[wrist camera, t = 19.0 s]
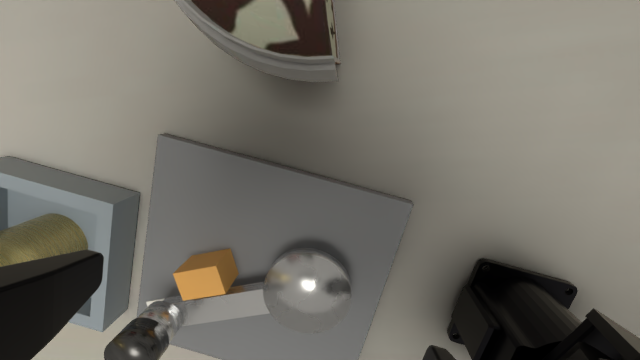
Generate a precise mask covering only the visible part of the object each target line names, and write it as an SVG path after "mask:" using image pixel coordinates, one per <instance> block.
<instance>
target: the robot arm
mask: <svg viewBox="0 0 640 360" xmlns="http://www.w3.org/2000/svg"><path fill="white" fill-rule="evenodd" d="M103 264H104V257H103V255H102V254H101V253H99V252H95V251H92V250H81V251H76V252H71V253H66V254H61V255H56V256H51V257H46V258H41V259H36V260H31V261H26V262H22V263H17V264H12V265H7V266H2V267H0V360H31V359H32V358H33V357H34V356H35V355H36V354H37V353H38V352H39V351H41V350H42V349H43V348H44V347H45V346H46V345H47V344H48V343H49V342H50V341H51V340H52V339H53V338H54V337H55V336H56V335H57V334H58V333H59V332H60V330H61V329H62V328H63V327H64V326H65V325H66V324H67V323H68V322H69V321H70V319H71V318H72V317H73V316H74V315H75V314H76V313H77V312H78V311H79V309H80V308H81V307H82V306H83V305H84V304H85V303H86V302H87V301H88V299H89V298H90V297H91V296H92V295H93V294H94V293H95V292H96V291H97V289H98V288H99V286H100V285H101V282H102V278H103ZM485 265H488V267H487V268H486V269H482V268H483V266H485ZM568 288H569V290H568V291H566V292H565V290H566V289H568ZM576 294H577V288H576V287H575V286H574V285H573V284H572V283H570V282H567V281H564V280H560V279H557V278H553V277H549V276H546V275H542V274H539V273H535V272H531V271H528V270H524V269H520V268H517V267H513V266H510V265H506V264H502V263H499V262H495V261H492V260H488V259H481V260H479V261H478V262H477V264H476V266H475V268H474V271H473V273H472V275H471V277H470V280H469V282H468V284H467V285H466V286H465V287H464V288H463V290H462V293H461V295H460V297H459V300H458V302H457V304H456V307H455V309H454V311H453V314H452V318H453V319H452V321H451V323H450V326H449V328H448V330H447V334H448V336H449V339H450V340H451V341H453V342H456V343H460V344H463V345H465V346H466V348H467V350H468V352H469V355H470V357H471V359H472V360H640V338H638V337H637V336H635V335H634V334H632V333H631V332H629V331H628V330H626V329H625V328H623V327H622V326H620V325H618V324H617V323H615V322H614V321H612V320H611V319H609V318H608V317H606V316H605V315H603V314H602V313H600V312H599V311H597V310H596V309H594V308H593V309H592V310H591V311H590V312H589V313H588V314H587V315H586V317H587V319H585V320H584V321H583V322H581V321H579V320H578V319H577V318H576V317H575V316H574V315H573V314H572V313H571V312H570V311H569V310H568V309H569V307H570V305H571V303H572V301H573V299H574V298H575V296H576ZM454 333H458V334H457V335H453V334H454ZM423 360H456V359H455V358H454V357H453V356H452V355H451V354H450V353H449V352H448V351H447V350H446V349H444V348H441V347H437V346H434V345H431V346H429V347H428V348H427V350H426V353H425V355H424V358H423Z"/></svg>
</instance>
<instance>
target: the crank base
mask: <svg viewBox="0 0 640 360" xmlns="http://www.w3.org/2000/svg"><path fill="white" fill-rule="evenodd" d="M412 207H413V203H412V201H410V200H407V199H403V198H399V197H396V196H392V195H388V194H385V193H381V192H377V191H374V190H370V189H366V188H363V187H359V186H356V185H352V184H348V183H345V182H341V181H337V180H334V179H330V178H326V177H323V176H319V175H315V174H312V173H308V172H304V171H301V170H297V169H293V168H290V167H286V166H282V165H279V164H275V163H271V162H268V161H264V160H260V159H257V158H253V157H249V156H246V155H242V154H238V153H235V152H231V151H227V150H224V149H220V148H216V147H213V146H209V145H206V144H202V143H198V142H195V141H191V140H187V139H184V138H180V137H176V136H173V135H169V134H159V135H158V140H157V149H156V157H155V166H154V174H153V183H152V191H151V200H150V208H149V217H148V226H147V234H146V243H145V251H144V260H143V268H142V277H141V285H140V294H139V302H138V311H137V317H138V316H139V315H140V314H141V313H142V312H143V311H144V310H145V309H146V308H147V307H148V306H149V305H150V304H151V303H153V302H155V301H163V300H164V299H165V298H168V297H174V296H180V295H181V297H182V300H183V301H185V300H191V299H197V298H204V297H210V296H216V295H222V294H226V293H227V291H228V289H229V288H230V287H234V286H241V285H247V284H253V283H259V282H264V281H265V278H266V276H267V274H268V272H269V270H270V268H271V266H272V264H273V263H274V262H275V260H276V259H278V258H279V257H280V256H281V255H282V254H284V253H286V252H288V251H290V250H293V249H297V248H315V249H319V250H322V251H325V252H327V253H329V254H331V255H332V256H334V257H335V258H336V259H338V260H339V261H340V262H341V263H342V265H343V266H344V267H345V269H346V271H347V273H348V275H349V278H350V282H351V304H350V307H349V310H348V312H347V314H346V316H345V317H344V319H343V320H342V321H341V322H340V323H339V324H338V325H336V326H335V327H333V328H331V329H329V330H327V331H324V332H320V333H312V334H311V333H300V332H296V331H293V330H291V329H288V328H287V327H285V326H283V325H282V324H280V323H279V322H278V321H277V320H275V318H274V317H273V316H272V315H271V314H270V313H269V314H262V315H255V316H248V317H242V318H235V319H228V320H222V321H215V322H208V323H201V324H195V325H188V326H181V328H180V329H179V331H178V332H177V333H176V335H175V336H174V337H173V339H172V340H171V341H170V343H169V344H171V345H174V346H178V347H181V348H184V349H188V350H191V351H195V352H198V353H201V354H205V355H208V356H212V357H215V358H218V359H222V360H358V359H359V356H360V353H361V350H362V348H363V345H364V342H365V339H366V336H367V334H368V331H369V328H370V325H371V322H372V320H373V317H374V314H375V311H376V308H377V305H378V303H379V300H380V297H381V294H382V291H383V289H384V286H385V283H386V280H387V277H388V275H389V272H390V269H391V266H392V263H393V260H394V258H395V255H396V252H397V249H398V246H399V244H400V241H401V238H402V235H403V232H404V230H405V227H406V224H407V221H408V218H409V216H410V213H411V210H412Z"/></svg>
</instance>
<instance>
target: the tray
mask: <svg viewBox="0 0 640 360" xmlns="http://www.w3.org/2000/svg"><path fill="white" fill-rule="evenodd" d="M139 198H140V193H139V192H135V191H132V190H128V189H124V188H121V187H117V186H114V185H110V184H107V183H103V182H99V181H96V180H92V179H89V178H85V177H82V176H78V175H74V174H71V173H67V172H64V171H60V170H57V169H53V168H49V167H46V166H42V165H39V164H35V163H32V162H28V161H24V160H21V159H17V158H14V157H10V156H7V157H0V231H1V230H4V229H7V228H9V227H12V226H15V225H18V224H20V223H23V222H26V221H28V220H31V219H34V218H36V217H39V216H42V215H45V214H49V213H55V214H61V215H64V216H66V217H68V218H70V219H71V220H73V221H74V222H75V223H76V224H77V225H78V226H79V227H80V228H81V229H82V231H83V232H84V234H85V236H86V239H87V242H88V250H92V251H95V252H99V253H101V254H102V255H103V257H104V264H103V278H102V282H101V285H100V286H99V288H98V289H97V291H96V292H95V293H94V294H93V295H92V296H91V297H90V298H89V299H88V301H87V302H86V303H85V304H84V305H83V306H82V307H81V308H80V309H79V311H78V312H77V313H76V314H75V315H74V316H73V317H72V318H71V319H70V321H69V322H70V323H73V324H76V325H80V326H83V327H86V328H90V329H93V330H97V331H100V332H103V331H104V330H105V329H106V328H108V327H109V326H110V325H111V324H112V323H113V322H114V321H115V320H116V319H117V318H118V317H119V316H120V315H122V314H123V313H124V312H125V311H126V310H127V309H128V300H129V291H130V282H131V272H132V263H133V254H134V244H135V235H136V226H137V216H138V207H139Z"/></svg>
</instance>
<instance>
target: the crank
mask: <svg viewBox="0 0 640 360" xmlns="http://www.w3.org/2000/svg"><path fill="white" fill-rule="evenodd" d="M350 304H351V282H350V278H349V275H348V273H347V271H346V269H345V267H344V266H343V265H342V263H341V262H340V261H339V260H338V259H336V258H335V257H334V256H332V255H331V254H329V253H327V252H325V251H322V250H319V249H315V248H297V249H293V250H290V251H288V252H286V253H284V254H282V255H281V256H280V257H279V258H278V259H276V260H275V262H274V263H273V264H272V266H271V268H270V270H269V272H268V274H267V276H266V278H265V281H264V282H259V283H253V284H247V285H241V286H234V287H230V288H229V289H228V291H227V293H226V294H222V295H216V296H210V297H204V298H197V299H191V300H185V301H183V300H182V297H181V295H180V296H174V297H168V298H165V299H164V300H163V301H155V302H153V303H151V304H150V305H149V306H148V307H147V308H146V309H145V310H144V311H143V312H142V313H141V314H140V315H139V316H138V317H137V318H136V319H134V320H132V321H131V322H130V323H129V324H128V325H127V326H126V327H125V328H124V329H123V330H122V331H121V332H120V333H119V334H118V335H117V336H116V337H115V338H114V339H113V340H112V341H111V342H110V343H109V344H108V345H107V346H106V348H105V351H104V358H105V360H159V359H160V357H161V356H162V355H163V353H164V352H165V351H166V349H167V348H168V345H169V343H170V341H171V340H172V339H173V337H174V336H175V335H176V333H177V332H178V331H179V329H180V328H181V326H188V325H195V324H201V323H208V322H215V321H222V320H228V319H235V318H242V317H248V316H255V315H262V314H269V313H270V314H271V315H272V316H273V317H274V318H275V320H277V321H278V322H279V323H280V324H282V325H283V326H285V327H287V328H288V329H291V330H293V331H296V332H300V333H311V334H312V333H320V332H324V331H327V330H329V329H331V328H333V327H335V326H336V325H338V324H339V323H340V322H341V321H342V320H343V319H344V317H345V316H346V314H347V312H348V310H349V307H350Z"/></svg>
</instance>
